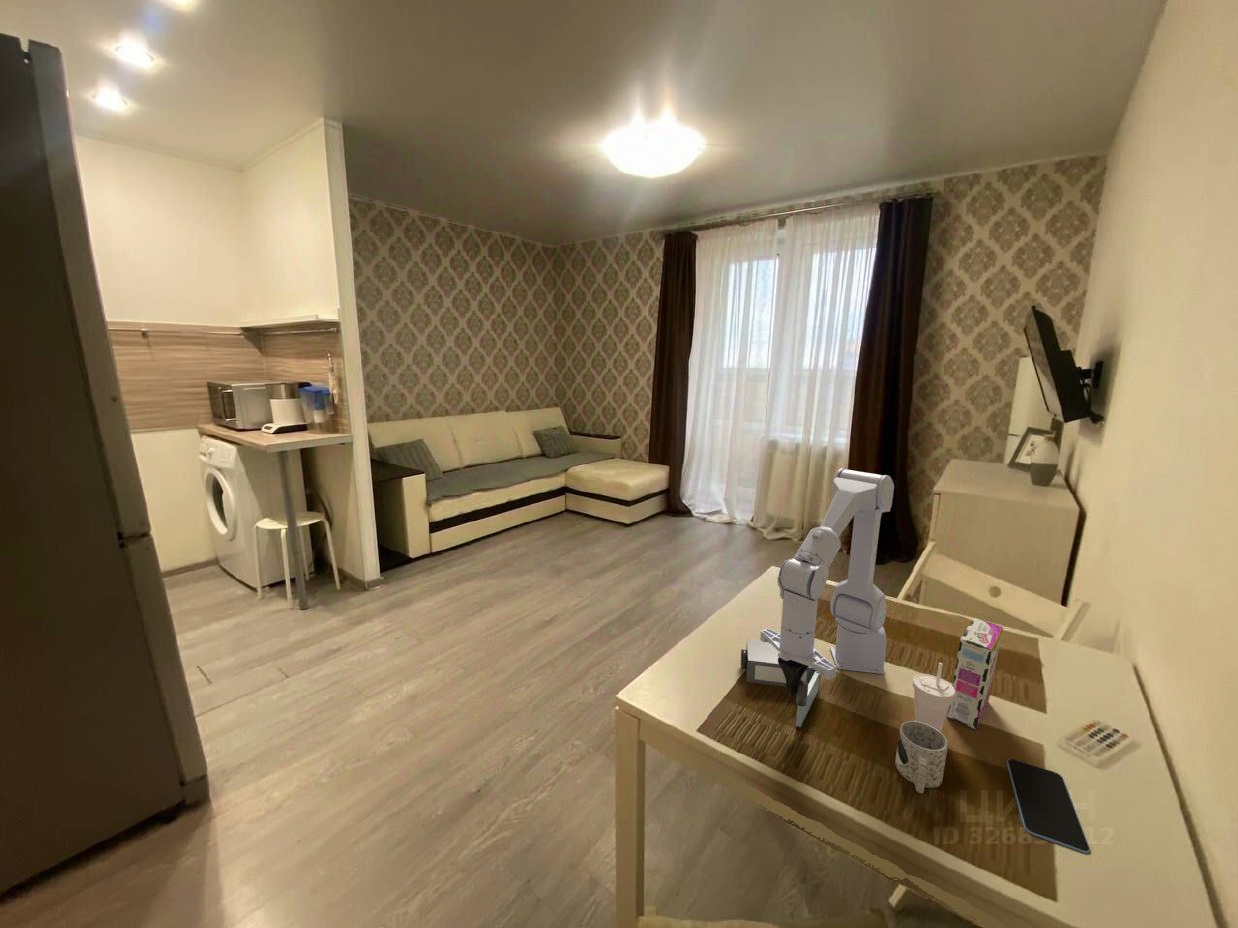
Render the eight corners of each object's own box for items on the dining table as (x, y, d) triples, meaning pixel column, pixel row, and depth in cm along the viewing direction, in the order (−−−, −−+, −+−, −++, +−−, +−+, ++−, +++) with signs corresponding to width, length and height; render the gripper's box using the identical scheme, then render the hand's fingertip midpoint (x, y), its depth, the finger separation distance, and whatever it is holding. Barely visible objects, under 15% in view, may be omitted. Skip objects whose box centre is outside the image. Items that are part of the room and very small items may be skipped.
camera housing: (812, 666, 108) (813, 646, 107) (818, 690, 100) (820, 668, 99) (740, 658, 111) (741, 638, 110) (741, 681, 103) (742, 659, 102)
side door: (811, 688, 101) (814, 651, 99) (820, 691, 100) (824, 654, 98) (793, 724, 91) (796, 684, 89) (803, 728, 90) (806, 688, 88)
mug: (895, 748, 86) (900, 715, 84) (941, 764, 82) (947, 729, 81) (893, 792, 77) (898, 755, 76) (944, 811, 74) (950, 774, 73)
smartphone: (1025, 830, 71) (1005, 755, 83) (1024, 835, 71) (1004, 760, 84) (1094, 854, 67) (1062, 772, 80) (1093, 859, 67) (1061, 777, 80)
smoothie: (954, 748, 86) (966, 676, 83) (913, 743, 87) (923, 672, 84) (939, 722, 92) (949, 654, 89) (901, 717, 93) (910, 650, 90)
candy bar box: (978, 731, 89) (992, 650, 86) (945, 717, 93) (958, 638, 89) (990, 701, 97) (1004, 625, 93) (960, 689, 100) (972, 615, 97)
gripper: (750, 614, 92) (747, 679, 95) (820, 653, 80) (814, 725, 83) (776, 603, 96) (771, 666, 99) (846, 638, 84) (838, 708, 87)
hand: (792, 692), depth 91 cm, fingers closed
